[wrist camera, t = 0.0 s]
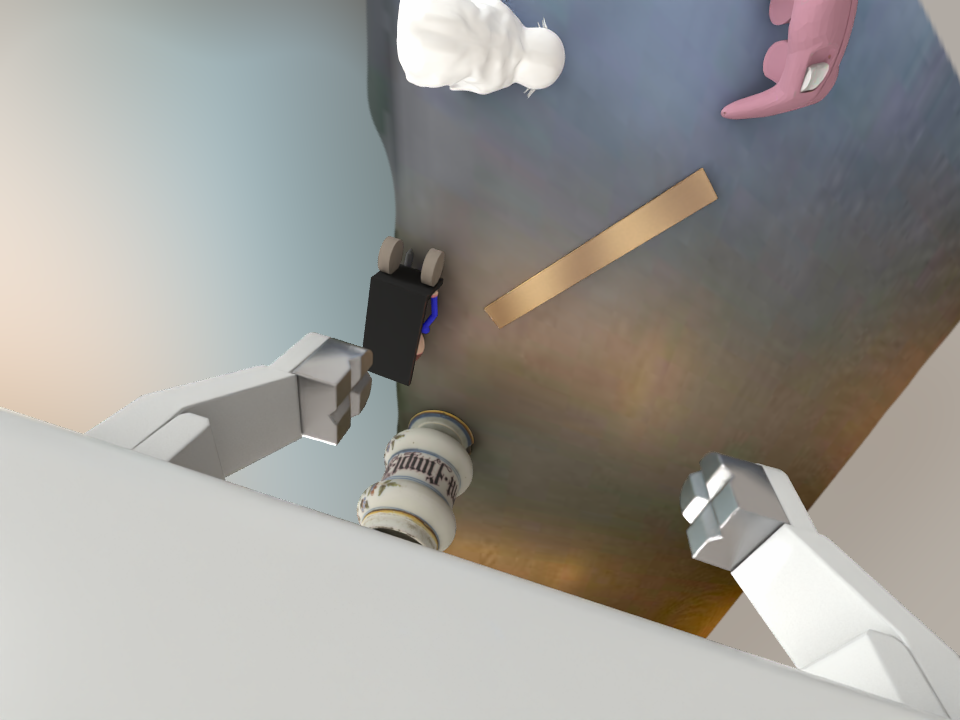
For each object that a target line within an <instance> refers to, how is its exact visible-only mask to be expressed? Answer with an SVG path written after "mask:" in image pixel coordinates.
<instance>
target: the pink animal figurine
mask: <svg viewBox="0 0 960 720" xmlns="http://www.w3.org/2000/svg"><path fill="white" fill-rule="evenodd" d="M857 3H858V0H771V3H770V7H769V15H770V20H771V22H772V23H773V24H775V25H781V24H786V23H790V25H789V31H788V40H782V41H778V42H776V43H774V44H773V45H772V46H771V47H770V48H769V49H768V51H767V53H766V55H765V58H764V62H763V72H764V74H765V76H766V77H767V78H769V79H771V80H773V81H774V82H775V83H777V84H776V85H775V86H774V87H772V88H770V89H768V90H766V91H764V92H761V93H759V94H756V95H752V96H749V97H746V98H743V99H740V100H737V101H735V102H733V103H731V104H729V105H727V106H726V107H724V108H723V109H722V111H721V115H722V116H723V117H725V118H728V119H748V118H758V117H766V116H772V115H776V114H780V113H784V112H788V111H792V110H796V109H799V108H802V107H806V106H809V105H812V104H815V103H817V102H819V101H821V100H822V99H823V98H824V97H825V96H826V95H827V94H828V93H829V91H830V90H831V88H832V87H833V85H834V84H835V81H836V79H837V76H838V71H839V64H840V62H841V60H842V57H843V55H844V52H845V49H846V47H847V44H848V41H849V38H850V34H851V31H852V27H853V23H854V19H855V15H856V10H857Z"/></svg>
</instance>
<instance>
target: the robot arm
mask: <svg viewBox="0 0 960 720" xmlns="http://www.w3.org/2000/svg"><path fill="white" fill-rule="evenodd" d="M372 364H373V353H372V352H371V350H369V349H366V348H363V347H360V346H357V345H354V344H351V343H347V342H344V341H341V340H338V339H335V338H331V337H328V336H325V335H321V334H318V333H315V332H312V333H308V334H306V335H305V336H304V337H303V338H302V339H300V340H299V341H298V342H297V343H296V344H294V346H292V347H291V348H290V349H288V350H287V351H286V352H285V353H284V354H282V355H281V356H280V357H279V358H278V359H277V360H275V361H274V362H273V363H272V364H270V365H269V366H266V365H258V366H254V367H250V368H247V369H243V370H239V371H235V372H231V373H227V374H223V375H219V376H215V377H212V378H208V379H204V380H200V381H196V382H192V383H188V384H184V385H181V386H177V387H172V388H169V389H165V390H161V391H157V392H153V393H149V394H145V395H142V396H140V397H139V398H137V399H136V400H134V401H133V402H131V403H130V404H128V405H127V406H125V407H124V408H122V409H121V410H119V411H118V412H116V413H115V414H113V415H112V416H110V417H109V418H107V419H106V420H104V421H103V422H101V423H100V424H98V425H97V426H95V427H93V428H92V429H91V430H89V431H87V432H86V433H84V434H82V433H79V432H76V431H73V430H70V429H66V428H64V427H61V426H57V425H55V424H51V423H48V422H45V421H42V420H39V419H36V418H33V417H30V416H27V415H24V414H21V413H18V412H15V411H12V410H9V409H6V408H2V407H0V720H960V656H959V655H958V654H957V653H956V652H955V651H954V650H952V649H951V648H950V647H949V646H948V645H947V644H946V643H945V642H944V641H942V640H941V639H940V638H939V637H938V636H937V635H936V634H935V633H933V632H932V631H931V630H930V629H929V628H928V627H927V626H926V625H925V624H924V623H922V622H921V621H920V620H919V619H918V618H917V617H916V616H915V615H913V614H912V613H911V612H910V611H909V610H908V609H907V608H906V607H905V606H903V605H902V604H901V603H900V602H899V601H898V600H897V599H896V598H894V597H893V596H892V595H891V594H890V593H889V592H888V591H887V590H886V589H885V588H884V587H882V586H881V585H880V584H879V583H878V582H877V581H876V580H875V579H874V578H872V577H871V576H870V575H869V574H868V573H867V572H866V571H865V570H863V569H862V568H861V567H860V566H859V565H858V564H857V563H856V562H855V561H853V560H852V559H851V558H850V557H849V556H848V555H847V554H846V553H845V552H843V551H842V550H841V549H840V548H839V547H838V546H836V544H835V543H833V542H832V541H831V540H830V539H829V538H828V537H827V536H824V535H821V534H819V533H818V531H817V530H816V528H815V526H814V524H813V522H812V521H811V519H810V517H809V515H808V513H807V511H806V509H805V507H804V506H803V504H802V502H801V500H800V498H799V496H798V494H797V493H796V491H795V489H794V487H793V485H792V483H791V482H790V480H789V478H788V476H787V475H786V474H785V473H784V472H783V471H782V470H780V469H776V468H772V467H769V466H765V465H761V464H758V463H757V464H755V463H751V462H748V461H745V460H741V459H738V458H734V457H731V456H727V455H724V454H720V453H717V452H714V451H710V452H708V453H707V454H705V455H704V456H703V458H702V459H701V460H700V462H699V463H700V467H701V470H700V471H697V472H695V473H692V474H690V475H689V476H688V478H687V479H686V480H685V482H684V483H683V486H682V490H681V493H680V507H681V511H682V514H683V515H684V517H685V518H686V519H687V520H688V522H689V523H690V524H691V525H690V526H689V527H688V529H687V530H686V533H687V537H688V542H689V546H690V550H691V554H692V558H694V559H697V560H700V561H703V562H706V563H708V564H711V565H714V566H717V567H720V568H723V569H726V570H729V571H732V572H731V574H732V575H733V577H734V578H735V580H736V581H737V583H738V584H739V585H740V587H741V588H742V590H743V591H744V593H745V594H746V595H747V597H748V598H749V599H750V601H751V602H752V604H753V606H754V607H755V608H756V610H757V611H758V613H759V614H760V616H761V617H762V618H763V620H764V621H765V623H766V624H767V626H768V627H769V628H770V630H771V631H772V633H773V634H774V636H775V637H776V638H777V640H778V641H779V643H780V644H781V646H782V647H783V648H784V650H785V651H786V653H787V654H788V656H789V657H790V659H791V660H792V661H793V663H794V664H795V666H796V667H797V668H793V667H790V666H787V665H784V664H781V663H778V662H775V661H772V660H769V659H766V658H763V657H760V656H757V655H754V654H751V653H748V652H745V651H741V650H738V649H736V648H733V647H730V646H727V645H724V644H720V643H718V642H715V641H711V640H708V639H705V638H702V637H699V636H696V635H693V634H690V633H687V632H684V631H681V630H678V629H675V628H672V627H669V626H666V625H663V624H660V623H657V622H653V621H650V620H647V619H644V618H641V617H638V616H635V615H632V614H629V613H626V612H623V611H620V610H617V609H614V608H611V607H608V606H605V605H602V604H599V603H595V602H592V601H589V600H586V599H583V598H580V597H577V596H574V595H571V594H568V593H565V592H562V591H559V590H556V589H553V588H550V587H547V586H544V585H541V584H538V583H535V582H532V581H529V580H526V579H523V578H520V577H517V576H513V575H510V574H507V573H504V572H501V571H498V570H495V569H492V568H489V567H486V566H483V565H480V564H477V563H474V562H471V561H468V560H465V559H462V558H459V557H456V556H453V555H450V554H447V553H444V552H441V551H438V550H435V549H432V548H429V547H426V546H423V545H419V544H416V543H413V542H410V541H407V540H404V539H401V538H398V537H395V536H392V535H389V534H386V533H383V532H380V531H377V530H374V529H371V528H368V527H365V526H362V525H359V524H356V523H353V522H350V521H346V520H343V519H340V518H337V517H334V516H331V515H328V514H325V513H322V512H319V511H316V510H312V509H310V508H307V507H304V506H301V505H298V504H295V503H292V502H289V501H286V500H283V499H280V498H276V497H273V496H271V495H267V494H264V493H261V492H258V491H255V490H252V489H249V488H246V487H243V486H240V485H237V484H234V483H231V482H228V481H225V477H227V476H229V475H231V474H233V473H235V472H237V471H238V470H241V469H243V468H245V467H247V466H248V465H250V464H252V463H254V462H256V461H258V460H260V459H262V458H264V457H266V456H268V455H270V454H272V453H273V452H276V451H277V450H279V449H281V448H283V447H285V446H287V445H289V444H291V443H293V442H295V441H297V440H299V439H300V438H302V436H305V437H308V438H311V439H315V440H318V441H322V442H325V443H329V444H332V445H336V446H337V444H338V443H339V442H340V440H341V439H342V437H343V436H344V435H345V433H346V432H347V431H348V429H349V428H350V425H351V423H350V422H351V417H354V416H356V415H359V414H360V413H361V411H362V410H363V408H364V407H365V405H366V402H367V400H368V398H369V395H370V390H371V383H372V378H371V377H370V375H369V373H368V372H367V371H368V370H369V368H370V367H371V366H372Z"/></svg>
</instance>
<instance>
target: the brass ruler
mask: <svg viewBox="0 0 960 720" xmlns="http://www.w3.org/2000/svg"><path fill="white" fill-rule="evenodd" d="M716 199H718V197H717V195H716V193H715V191H714V189H713V187H712V185H711V183H710V181H709V179H708V177H707V175H706V173H705V171H704V169H703V168H701V169H699V170H698V171H696V172H695V173H693V174H692V175H690V176H689V177H687V178H685V179H684V180H682V181H681V182H679V183H678V184H676V185H675V186H673V187H671V188H670V189H668V190H667V191H665V192H664V193H662V194H661V195H659V196H658V197H656V198H654V199H653V200H651V201H650V202H648V203H647V204H645V205H644V206H642V207H640V208H639V209H637V210H636V211H634V212H633V213H631V214H630V215H628V216H626V217H625V218H623V219H622V220H620V221H619V222H617V223H616V224H614V225H612V226H611V227H609V228H608V229H606V230H605V231H603V232H602V233H600V234H598V235H597V236H595V237H594V238H592V239H591V240H589V241H588V242H586V243H585V244H583V245H581V246H580V247H578V248H577V249H575V250H574V251H572V252H571V253H569V254H567V255H566V256H564V257H563V258H561V259H560V260H558V261H557V262H555V263H553V264H552V265H550V266H549V267H547V268H546V269H544V270H543V271H541V272H539V273H538V274H536V275H535V276H533V277H532V278H530V279H529V280H527V281H525V282H524V283H522V284H521V285H519V286H518V287H516V288H515V289H513V290H512V291H510V292H508V293H507V294H505V295H504V296H502V297H501V298H499V299H498V300H496V301H494V302H493V303H491V304H490V305H488V306H487V307H485V308H484V310H485V311H486V312H487V314H488V315H489V316H490V317H491V319H492V320H493V321H494V322H495V324H496V325H497V326H498V328H499V329H500V328H502V327H504V326H505V325H507V324H509V323H510V322H512V321H514V320H515V319H517V318H519V317H521V316H522V315H524V314H526V313H527V312H529V311H531V310H532V309H534V308H536V307H537V306H539V305H541V304H542V303H544V302H546V301H547V300H549V299H551V298H552V297H554V296H556V295H557V294H559V293H561V292H562V291H564V290H566V289H567V288H569V287H571V286H572V285H574V284H576V283H577V282H579V281H581V280H582V279H584V278H586V277H587V276H589V275H591V274H593V273H594V272H596V271H598V270H599V269H601V268H603V267H604V266H606V265H608V264H609V263H611V262H613V261H614V260H616V259H618V258H619V257H621V256H623V255H624V254H626V253H628V252H629V251H631V250H633V249H634V248H636V247H638V246H639V245H641V244H643V243H644V242H646V241H648V240H649V239H651V238H653V237H654V236H656V235H658V234H660V233H661V232H663V231H665V230H666V229H668V228H670V227H671V226H673V225H675V224H676V223H678V222H680V221H681V220H683V219H685V218H686V217H688V216H690V215H691V214H693V213H695V212H696V211H698V210H700V209H701V208H703V207H705V206H706V205H708V204H710V203H711V202H713V201H715V200H716Z"/></svg>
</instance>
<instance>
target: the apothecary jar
mask: <svg viewBox="0 0 960 720" xmlns="http://www.w3.org/2000/svg"><path fill="white" fill-rule="evenodd" d="M473 443H474V439H473V435H472V433H471V430H470V429H469V428H468V426H467V425H466V424H465V423H464V422H463V421H462V420H460V419H459V418H458V417H456V416H454V415H452V414H450V413H447V412H444V411H439V410H427V411H423V412H420V413H418V414H417V415H415V416H414V417H413V418H412V419H411V420H410V423H409V425H408V430H405V431H402V432H400V433H398V434H397V435H395V436H394V437H393V438H392V440H391V441H390V442H389V443H388V445H387V447H386V450H385V454H384V463H385V468H386V471H385V473H384V475H383V477H382V480H381V481H380V482H378V483H375V484H373V485H372V486H370V487H369V488H367V489H366V490H365V491H364V493H363V494H362V495H361V497H360V499H359V502H358V506H357V516H358V520H359V523H360V525H362V526H365V527H368V528H371V529H374V530H377V531H380V532H383V533H386V534H389V535H392V536H395V537H398V538H401V539H404V540H407V541H410V542H413V543H416V544H419V545H423V546H426V547H429V548H432V549H435V550H438V551H441V552H443V551H444V550H445V549H446V548H447V547H448V546H449V545H450V544H451V543H452V541H453V539H454V537H455V533H456V520H455V516H454V514H453V511H452V508H453V505H454V501H455V499H456V497H457V496H459V495H461V494H462V493H463V492H464V491H465V490H466V489H467V488H468V486H469V485H470V483H471V480H472V476H473V466H472V462H471V459H470V457H469V455H470V453H471V447H470V446H471V445H472V444H473Z"/></svg>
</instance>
